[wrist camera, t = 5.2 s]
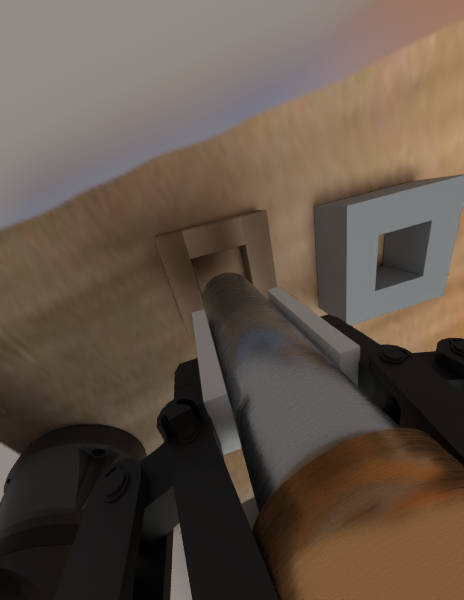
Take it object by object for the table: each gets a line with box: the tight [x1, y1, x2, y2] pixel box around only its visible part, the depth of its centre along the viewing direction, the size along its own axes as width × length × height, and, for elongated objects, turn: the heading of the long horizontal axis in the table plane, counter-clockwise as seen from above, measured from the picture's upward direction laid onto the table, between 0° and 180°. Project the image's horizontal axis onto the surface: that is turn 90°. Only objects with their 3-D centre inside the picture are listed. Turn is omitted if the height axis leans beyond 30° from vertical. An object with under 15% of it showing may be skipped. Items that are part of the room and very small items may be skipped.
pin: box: [203, 272, 464, 600], centre depth 10 cm, size 5×5×15 cm
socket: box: [314, 174, 464, 325], centre depth 23 cm, size 12×12×5 cm
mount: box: [154, 210, 277, 336], centre depth 22 cm, size 10×10×2 cm
